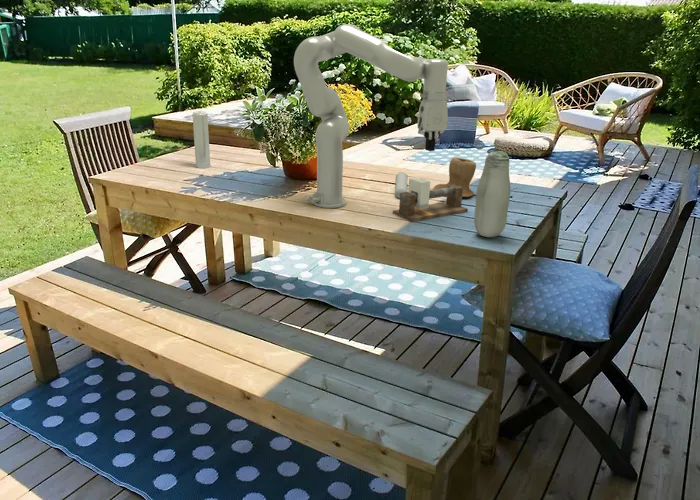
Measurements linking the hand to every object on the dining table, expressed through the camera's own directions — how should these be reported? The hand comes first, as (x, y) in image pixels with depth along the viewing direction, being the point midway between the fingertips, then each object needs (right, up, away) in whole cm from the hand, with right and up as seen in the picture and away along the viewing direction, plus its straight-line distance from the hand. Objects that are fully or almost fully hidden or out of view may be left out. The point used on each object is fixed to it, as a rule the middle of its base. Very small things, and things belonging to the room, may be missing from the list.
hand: (429, 150), depth 214 cm
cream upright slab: (-4, -19, +5) cm, 20 cm away
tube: (-7, -11, +36) cm, 39 cm away
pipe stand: (+1, -21, +9) cm, 23 cm away
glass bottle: (+18, -31, -13) cm, 38 cm away
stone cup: (+15, -13, +33) cm, 39 cm away
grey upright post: (-96, +3, +67) cm, 117 cm away
